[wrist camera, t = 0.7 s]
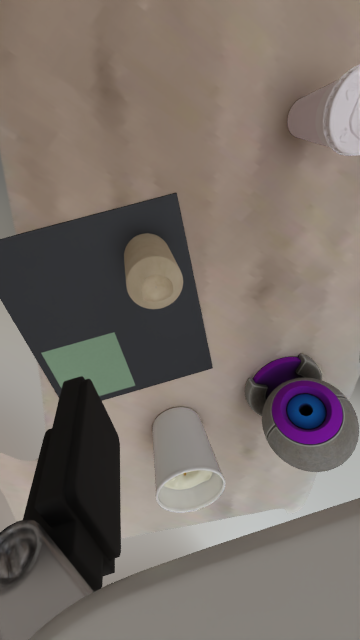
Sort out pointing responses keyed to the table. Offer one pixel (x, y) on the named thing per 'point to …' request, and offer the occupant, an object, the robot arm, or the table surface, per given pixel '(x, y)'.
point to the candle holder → (184, 462)
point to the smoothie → (330, 115)
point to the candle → (151, 272)
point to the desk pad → (102, 301)
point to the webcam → (303, 414)
